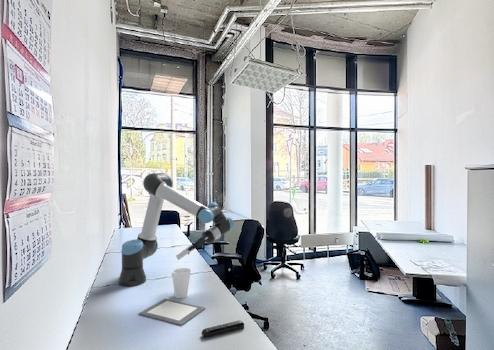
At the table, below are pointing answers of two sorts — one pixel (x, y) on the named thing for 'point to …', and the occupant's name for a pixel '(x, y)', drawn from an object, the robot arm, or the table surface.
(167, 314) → the picture frame
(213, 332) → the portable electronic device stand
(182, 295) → the foam cup
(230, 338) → the table surface
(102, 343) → the table surface
